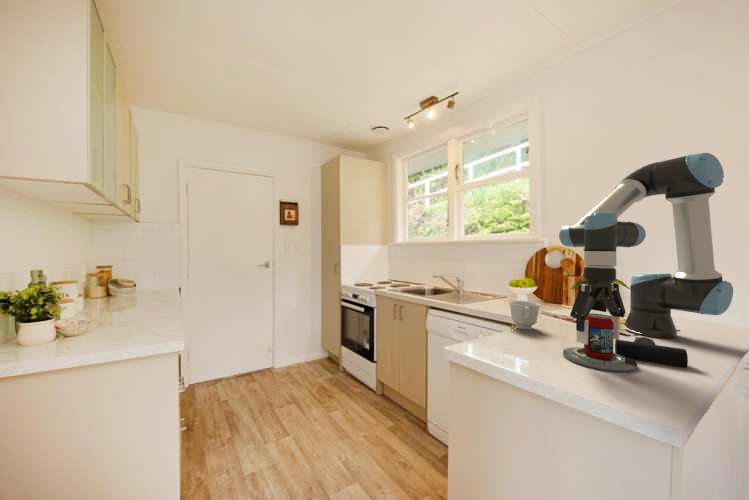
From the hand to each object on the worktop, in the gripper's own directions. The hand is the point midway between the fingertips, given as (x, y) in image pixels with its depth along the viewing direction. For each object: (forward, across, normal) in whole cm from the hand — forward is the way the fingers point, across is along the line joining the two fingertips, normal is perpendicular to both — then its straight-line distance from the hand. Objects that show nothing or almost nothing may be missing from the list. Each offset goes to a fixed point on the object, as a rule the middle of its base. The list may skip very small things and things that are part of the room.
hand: (598, 340), depth 87 cm
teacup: (+6, -9, -34) cm, 35 cm away
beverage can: (+5, 0, 0) cm, 5 cm away
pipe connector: (+6, -17, +3) cm, 18 cm away
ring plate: (+6, 0, 0) cm, 6 cm away
